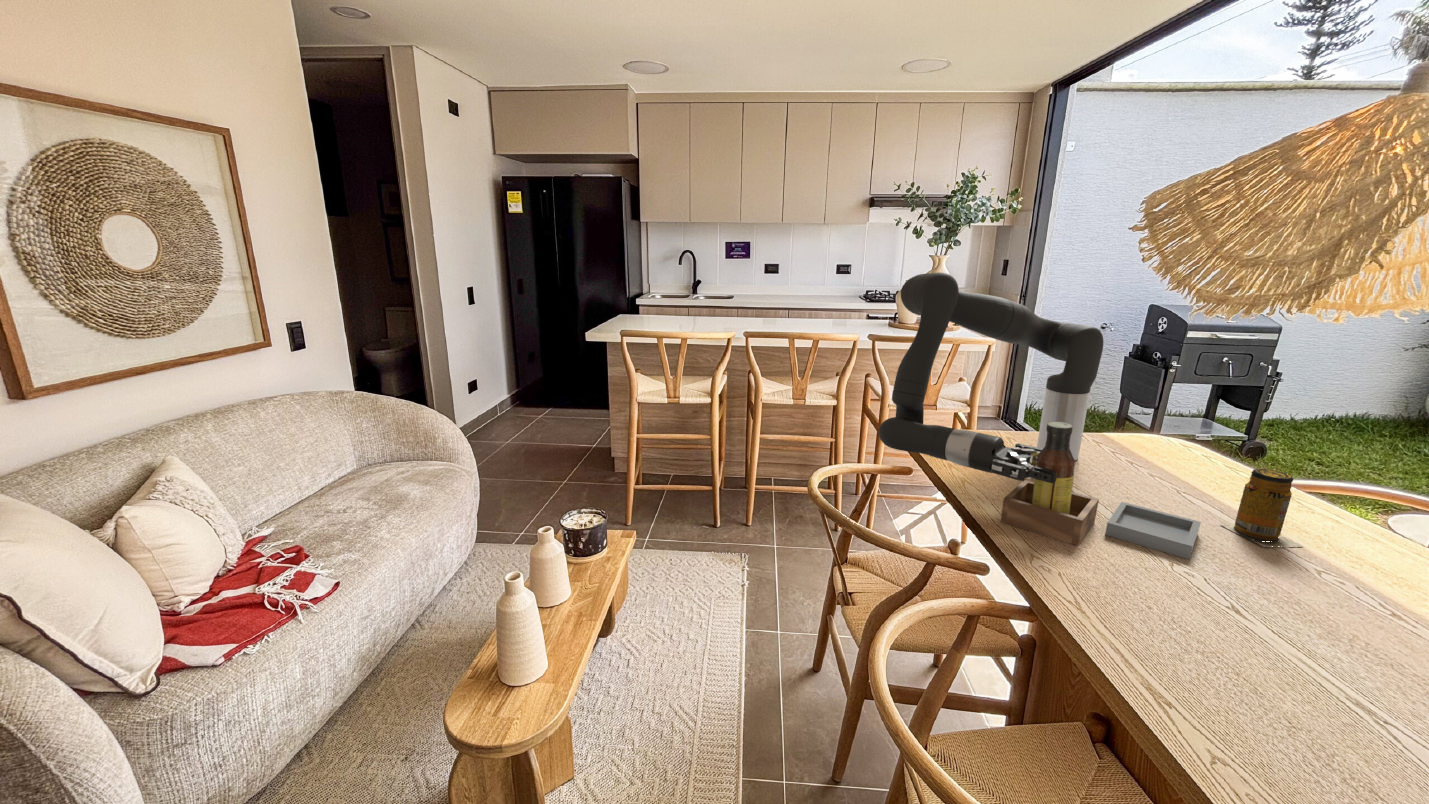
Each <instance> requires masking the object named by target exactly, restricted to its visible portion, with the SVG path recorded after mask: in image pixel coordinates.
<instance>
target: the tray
mask: <svg viewBox="0 0 1429 804" xmlns="http://www.w3.org/2000/svg"><path fill="white" fill-rule="evenodd" d="M1201 522H1202V521H1200V520H1195V519H1191V518H1188V517H1184V516H1180V515H1175V514H1172V513H1167V512H1163V511H1160V510H1156V509H1151V508H1148V507H1144V506H1140V505H1136V504H1133V503H1132V504H1131V503H1128V502H1124V501H1121V502H1119V505H1118V506H1117V508H1116V509H1115V511H1114V512H1113V514H1112V515H1111V517H1109V519H1108V521H1107V522H1106V528H1105V533H1104V534H1105V536H1108V537H1111V538H1114V539H1118V540H1122V541H1125V542H1129V543H1132V544H1136V545H1138V546H1142V547H1145V548H1149V549H1153V550H1156V551H1159V552H1163V553H1166V554H1169V555H1174V556H1176V557H1180V558H1183V559H1186V560H1190V558H1191V555H1192V553H1193V550H1194V546H1195V544H1196V540H1197V538H1198V535H1199V530H1200V527H1201Z"/></svg>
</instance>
